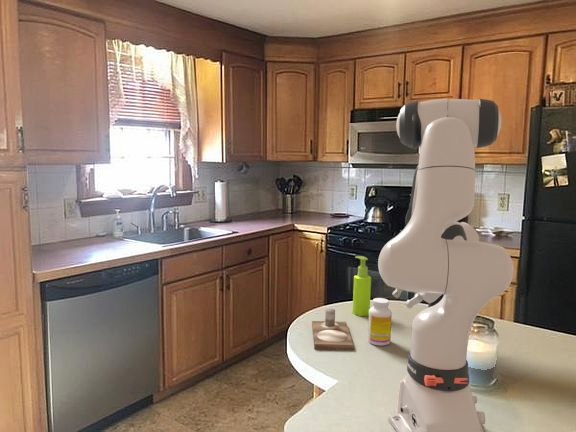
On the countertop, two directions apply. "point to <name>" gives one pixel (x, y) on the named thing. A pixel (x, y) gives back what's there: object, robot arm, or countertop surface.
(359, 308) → the soap dispenser
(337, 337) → the board
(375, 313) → the supplement bottle
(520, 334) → the countertop surface
